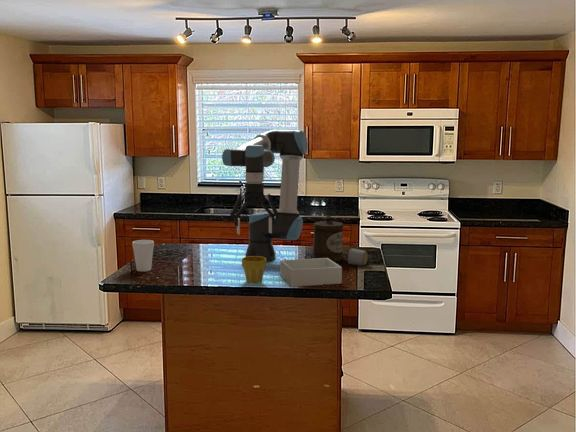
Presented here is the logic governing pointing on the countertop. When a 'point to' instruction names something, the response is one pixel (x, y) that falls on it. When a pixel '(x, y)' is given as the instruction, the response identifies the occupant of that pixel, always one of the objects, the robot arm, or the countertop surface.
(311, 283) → the crate
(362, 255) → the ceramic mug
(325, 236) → the wooden container
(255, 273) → the plant pot
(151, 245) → the foam cup
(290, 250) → the countertop surface
